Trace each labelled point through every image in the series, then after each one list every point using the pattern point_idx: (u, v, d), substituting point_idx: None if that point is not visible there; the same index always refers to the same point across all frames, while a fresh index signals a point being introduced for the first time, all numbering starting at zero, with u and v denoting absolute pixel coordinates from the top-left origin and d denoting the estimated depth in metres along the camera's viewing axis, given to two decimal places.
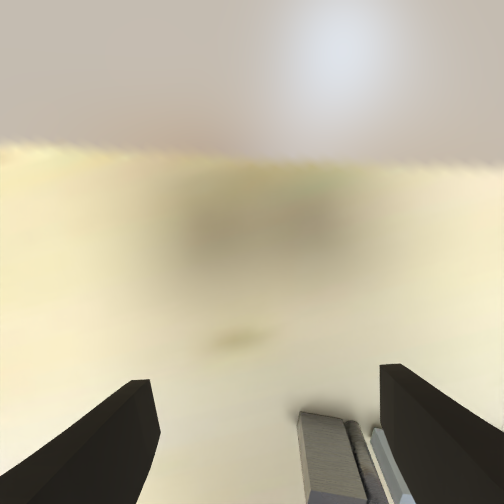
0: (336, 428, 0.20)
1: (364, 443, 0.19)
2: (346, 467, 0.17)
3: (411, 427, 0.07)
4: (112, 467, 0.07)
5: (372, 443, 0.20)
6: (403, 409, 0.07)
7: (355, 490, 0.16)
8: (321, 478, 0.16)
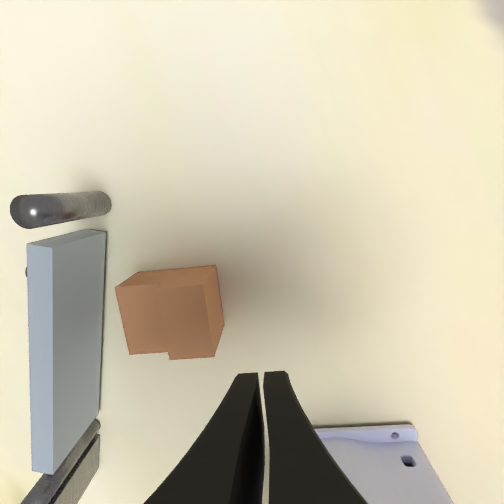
0: None
1: None
2: None
3: None
4: (252, 461, 0.07)
5: None
6: None
7: None
8: None
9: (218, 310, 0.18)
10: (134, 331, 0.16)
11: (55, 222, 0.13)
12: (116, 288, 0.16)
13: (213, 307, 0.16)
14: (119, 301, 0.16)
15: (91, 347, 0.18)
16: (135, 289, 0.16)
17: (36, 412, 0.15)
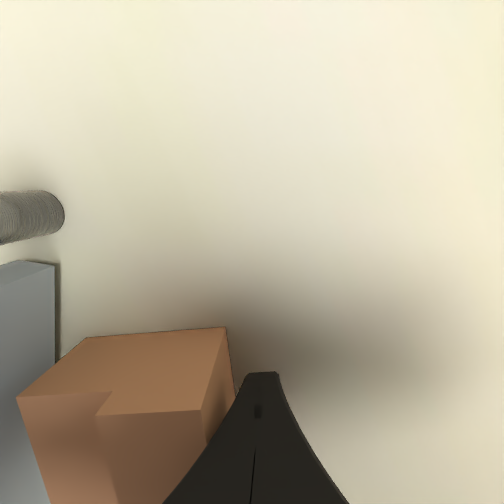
0: None
1: None
2: None
3: None
4: None
5: None
6: None
7: None
8: None
9: None
10: (62, 478, 0.08)
11: None
12: (19, 398, 0.08)
13: None
14: (27, 423, 0.08)
15: (32, 473, 0.10)
16: (58, 401, 0.07)
17: None
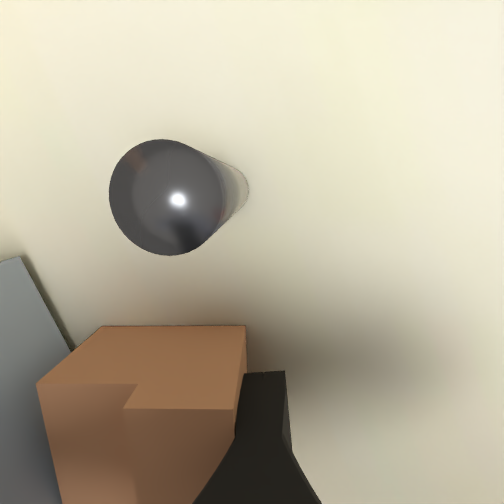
0: None
1: None
2: None
3: None
4: None
5: None
6: None
7: None
8: None
9: None
10: (76, 468, 0.08)
11: None
12: (39, 384, 0.07)
13: None
14: (45, 411, 0.07)
15: None
16: (80, 390, 0.07)
17: None
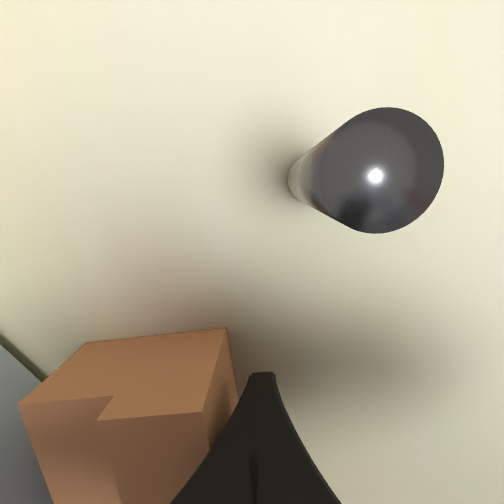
0: None
1: None
2: None
3: None
4: None
5: None
6: None
7: None
8: None
9: None
10: (67, 483, 0.08)
11: None
12: (21, 405, 0.08)
13: None
14: (29, 430, 0.08)
15: None
16: (59, 406, 0.07)
17: None
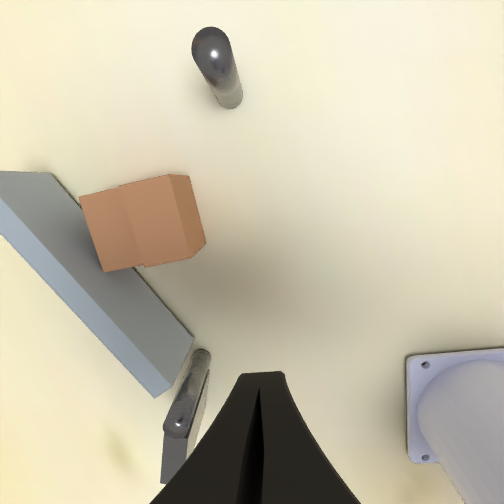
0: None
1: (187, 368, 0.18)
2: None
3: None
4: (256, 461, 0.07)
5: None
6: None
7: None
8: None
9: (195, 221, 0.16)
10: (105, 244, 0.15)
11: (227, 76, 0.12)
12: (80, 197, 0.15)
13: (187, 211, 0.15)
14: (85, 212, 0.15)
15: (124, 274, 0.17)
16: (100, 195, 0.15)
17: (105, 337, 0.14)
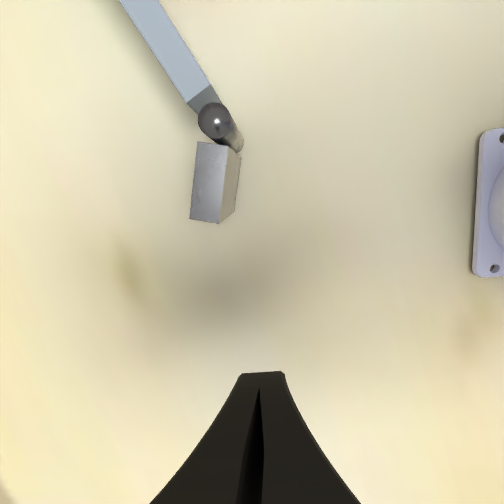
0: None
1: None
2: None
3: None
4: (256, 461, 0.07)
5: None
6: None
7: None
8: None
9: None
10: None
11: None
12: None
13: None
14: None
15: None
16: None
17: (130, 2, 0.11)
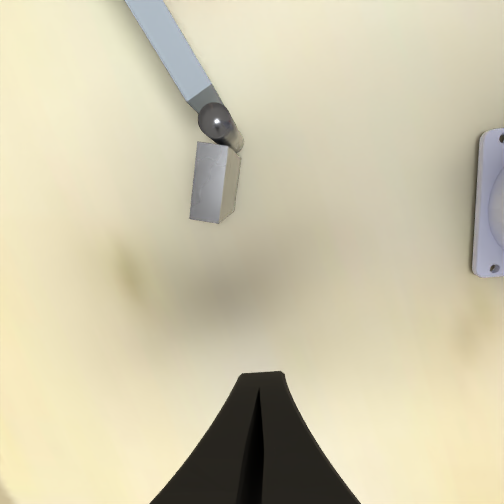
0: None
1: None
2: None
3: None
4: (256, 461, 0.07)
5: None
6: None
7: None
8: None
9: None
10: None
11: None
12: None
13: None
14: None
15: None
16: None
17: None
